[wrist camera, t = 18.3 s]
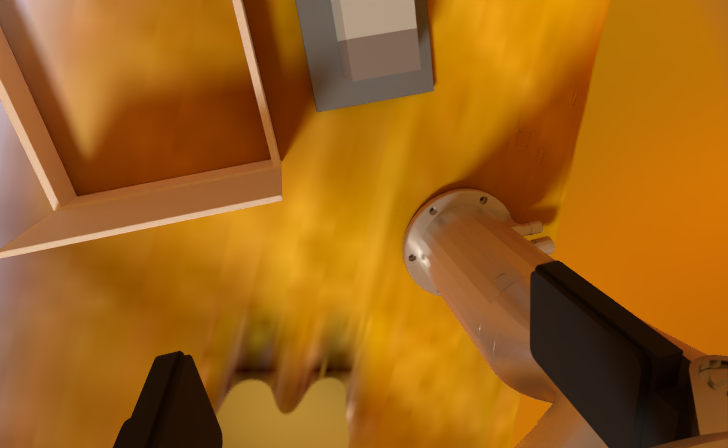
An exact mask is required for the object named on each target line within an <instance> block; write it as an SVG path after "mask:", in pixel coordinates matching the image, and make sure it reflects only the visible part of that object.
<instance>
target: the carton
mask: <svg viewBox="0 0 728 448" xmlns="http://www.w3.org/2000/svg"><path fill="white" fill-rule="evenodd" d="M232 1H233V5H234V9H235V13H236V17H237V21H238V25H239V29H240V33H241V37H242V42H243V46H244V50H245V54H246V58H247V62H248V66H249V70H250V74H251V78H252V82H253V86H254V91H255V95H256V99H257V103H258V107H259V111H260V115H261V119H262V123H263V127H264V131H265V136H266V140H267V144H268V148H269V152H270V156H271V159H269V160H264V161H259V162H254V163H249V164H244V165H238V166H233V167H228V168H223V169H218V170H212V171H207V172H202V173H197V174H192V175H187V176H181V177H176V178H171V179H166V180H161V181H155V182H150V183H145V184H140V185H135V186H130V187H124V188H119V189H114V190H109V191H104V192H99V193H93V194H88V195H83V196H78V197H77V195H76V193H75V191H74V188H73V186H72V184H71V182H70V180H69V177H68V175H67V173H66V171H65V168H64V166H63V164H62V162H61V160H60V157H59V155H58V153H57V151H56V148H55V146H54V144H53V142H52V140H51V137H50V135H49V133H48V131H47V128H46V126H45V124H44V122H43V120H42V117H41V115H40V113H39V111H38V108H37V106H36V104H35V102H34V100H33V97H32V95H31V93H30V91H29V88H28V86H27V84H26V82H25V80H24V77H23V75H22V73H21V71H20V68H19V66H18V64H17V62H16V60H15V57H14V55H13V53H12V51H11V48H10V46H9V44H8V42H7V40H6V37H5V35H4V33H3V31H2V28H1V26H0V99H1V101H2V103H3V106H4V108H5V110H6V112H7V114H8V116H9V118H10V120H11V122H12V124H13V126H14V128H15V131H16V133H17V135H18V137H19V139H20V141H21V143H22V145H23V147H24V149H25V151H26V153H27V156H28V158H29V160H30V162H31V164H32V166H33V168H34V170H35V172H36V174H37V176H38V178H39V180H40V183H41V185H42V187H43V189H44V191H45V193H46V195H47V197H48V199H49V201H50V203H51V205H52V208H53V210H54V212H53V213H52V214H50V215H49V216H47V217H46V218H44V219H43V220H42V221H40V222H39V223H37V224H36V225H34V226H33V227H31V228H30V229H29V230H27V231H26V232H24V233H23V234H21V235H20V236H18V237H17V238H16V239H14V240H13V241H11V242H10V243H8V244H7V245H5V246H4V247H3V248H1V249H0V258H4V257H9V256H14V255H19V254H24V253H29V252H34V251H39V250H43V249H48V248H53V247H58V246H63V245H68V244H73V243H78V242H82V241H87V240H92V239H97V238H102V237H107V236H112V235H117V234H121V233H126V232H131V231H136V230H141V229H146V228H151V227H156V226H160V225H165V224H170V223H175V222H180V221H185V220H190V219H195V218H199V217H204V216H209V215H214V214H219V213H224V212H229V211H234V210H238V209H243V208H248V207H253V206H258V205H263V204H268V203H273V202H277V201H282V170H281V160H280V156H279V152H278V148H277V143H276V139H275V135H274V131H273V126H272V122H271V118H270V114H269V109H268V105H267V101H266V97H265V93H264V88H263V84H262V80H261V76H260V71H259V67H258V63H257V59H256V54H255V50H254V46H253V42H252V37H251V33H250V29H249V25H248V21H247V16H246V12H245V8H244V4H243V0H232Z"/></svg>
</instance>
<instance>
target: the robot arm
mask: <svg viewBox="0 0 728 448" xmlns="http://www.w3.org/2000/svg"><path fill="white" fill-rule="evenodd" d="M481 197H482V198H481ZM480 198H481V199H480ZM432 207H433V208H432ZM431 208H432V210H430V209H431ZM542 230H543V226H542V223H541V222H540V221H539V220H535V221H531V222H526V223H525V224H519V223H516V222H515V221H513V220H512V217H511V215H510V213H509V211H508V210H507V208H506V207H505V205H504V204H503V203H501V202H500V201H499V200H498V199H497V198H495V197H494V196H492V195H491V194H489V193H486V192H484V191H482V190H477V189H472V188H460V189H455V190H450V191H447V192H445V193H442V194H440V195H438V196H436V197H434V198H433V199H431V200H430V201H428V202H427V203H426V204H425V205H424V206H423V207H421V208H420V209H419V211H418V212H417V213H416V214H415V216H414V217H413V218H412V220H411V222H410V224H409V226H408V227H407V230H406V233H405V236H404V241H403V259H404V262H405V266H406V268H407V270H408V272H409V274H410V275H411V277H412V278H413V280H414V281H415V282H416V283H417V284H418V285H419V286H420V287H421V288H422V289H424V290H426V291H428V292H430V293H432V294H435V295H438V296H442V297H443V299H444V300H445V302H446V303H447V305H448V306H449V308H450V309H451V310H452V312H453V313H454V315H455V316H456V318H457V319H458V321H459V322H460V324H461V325H462V327H463V328H464V329H465V331H466V332H467V334H468V335H469V337H470V338H471V340H472V341H473V343H474V344H475V346H476V347H477V349H478V350H479V351H480V353H481V354H482V356H483V357H484V359H485V360H486V361H487V363H488V364H489V366H490V367H491V369H492V370H493V371H494V372H495V374H496V375H497V376H498V377H499V378H500V379H501V380H502V381H503V382H504V383H505V384H507V385H508V386H509V387H511V388H513V389H514V390H516V391H518V392H519V393H522V394H524V395H527V396H529V397H532V398H534V399H538V400H542V401H546V402H550V403H553V404H552V406H551V407H550V408H549V409H548V410H547V411H546V413H545V414H544V415H543V416H542V417H541V418H540V419H539V420H538V423H537V425H536V426H535V427H534V428H533V429H532V430H531V431H530V432H529V433H528V434H527V435H526V436H525V437H524V438H523V439H522V441H521V442H520V443H519V444H518V445H517V446H516V447H515V448H728V356H720V355H707V354H705V353H703V352H701V351H699V350H697V349H695V348H693V347H691V346H689V345H687V344H685V343H684V342H682V341H680V340H678V339H676V338H674V337H672V336H670V335H668V334H666V333H664V332H662V331H660V330H659V329H657V328H655V327H653V326H651V325H650V324H648V323H646V322H645V321H643V320H641V319H639V318H637V317H636V316H635V315H633V314H632V313H631V312H629V311H628V310H626V309H625V308H624V307H622V306H621V305H620V304H618V303H617V302H615V301H614V300H613V299H611V298H610V297H609V296H607V295H606V294H604V293H603V292H602V291H600V290H599V289H598V288H596V287H595V286H593V285H592V284H591V283H589V282H588V281H586V280H585V279H584V278H582V277H581V276H579V275H578V274H577V273H575V272H574V271H573V270H571V269H570V268H568V267H567V266H566V265H564V264H563V263H562V262H560V261H555V260H554V259H553V258H551V257H550V256H549V255H547V254H551V253H553V252H554V243H553V241H552V239H551V238H550V237H548V236H546V237H541V238H537V239H533V240H531V241H528V240H527V239H526V238H524V237H523V236H525V235H533V234H537V233H541V232H542ZM411 254H412V255H411ZM410 255H411V256H410ZM113 448H222V432H221V428H220V426H219V424H218V421H217V418H216V416H215V413H214V411H213V408H212V406H211V403H210V401H209V398H208V396H207V393H206V391H205V388H204V386H203V383H202V381H201V378H200V376H199V373H198V371H197V368H196V366H195V363H194V361H193V358H192V356H191V355H184V354H183V352H182V351H177V352H173V353H169V354H165V355H160V356H157V357H156V358H155V360H154V362H153V364H152V367H151V369H150V372H149V374H148V377H147V379H146V382H145V384H144V387H143V389H142V391H141V394H140V396H139V399H138V401H137V404H136V406H135V409H134V411H133V413H132V416H131V418H129V419H128V420H126V421H125V422H124V424H123V426H122V427H121V430H120V432H119V434H118V437H117V439H116V441H115V444H114V446H113Z"/></svg>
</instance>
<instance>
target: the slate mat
mask: <svg viewBox="0 0 728 448" xmlns="http://www.w3.org/2000/svg"><path fill="white" fill-rule="evenodd" d="M414 3H415V14H416V24H417V33H418V44H419V55H420V66H421V70H415V71H410V72H404V73H398V74H393V75H387V76H381V77H376V78H370V79H364V80H359V81H353V82H352V81H349V80H346V79H343V73H342V67H341V61H340V54H339V48H338V41H337V35H336V29H335V23H334V17H333V11H332V5H331V0H296V5H297V10H298V16H299V21H300V26H301V31H302V36H303V42H304V47H305V52H306V57H307V63H308V68H309V73H310V78H311V83H312V89H313V94H314V99H315V104H316V110H317V112H321V111H327V110H332V109H338V108H343V107H349V106H354V105H360V104H365V103H371V102H376V101H382V100H387V99H393V98H398V97H404V96H409V95H415V94H420V93H425V92H431V91H434V85H433V73H432V61H431V48H430V36H429V24H428V11H427V0H414Z"/></svg>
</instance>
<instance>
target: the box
mask: <svg viewBox="0 0 728 448" xmlns="http://www.w3.org/2000/svg"><path fill="white" fill-rule="evenodd" d="M331 5H332V11H333V17H334V23H335V29H336V35H337V41H338V48H339V54H340V61H341V67H342V73H343V79H346V80H349V81H352V82H353V81H359V80H364V79H370V78H376V77H381V76H387V75H393V74H398V73H404V72H410V71H415V70H421V66H420V55H419V44H418V33H417V24H416V14H415V3H414V0H331Z"/></svg>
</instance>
